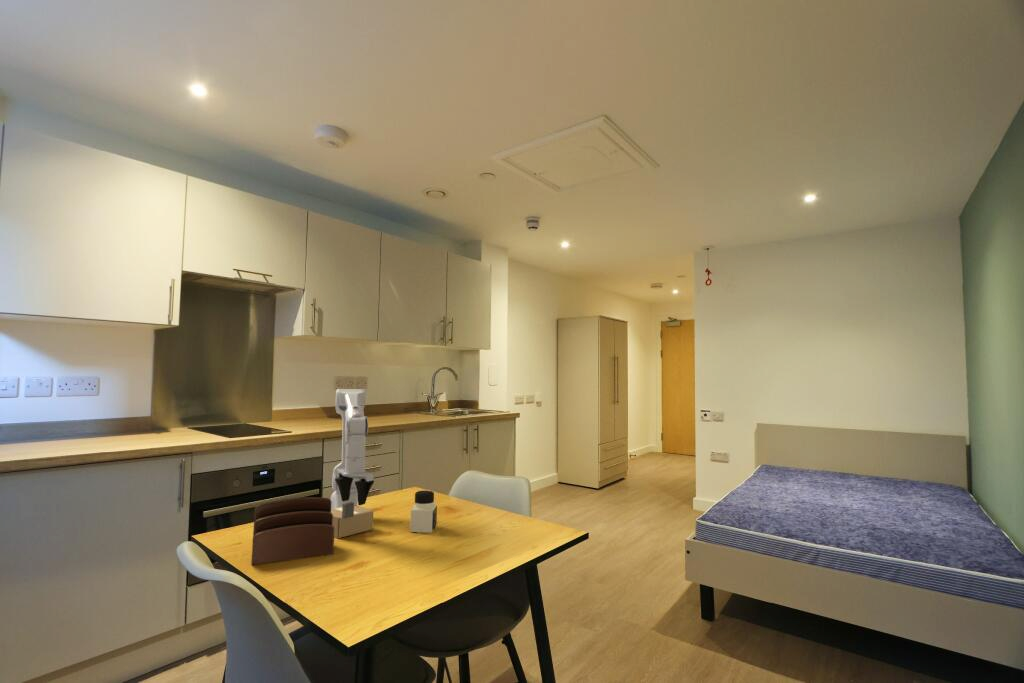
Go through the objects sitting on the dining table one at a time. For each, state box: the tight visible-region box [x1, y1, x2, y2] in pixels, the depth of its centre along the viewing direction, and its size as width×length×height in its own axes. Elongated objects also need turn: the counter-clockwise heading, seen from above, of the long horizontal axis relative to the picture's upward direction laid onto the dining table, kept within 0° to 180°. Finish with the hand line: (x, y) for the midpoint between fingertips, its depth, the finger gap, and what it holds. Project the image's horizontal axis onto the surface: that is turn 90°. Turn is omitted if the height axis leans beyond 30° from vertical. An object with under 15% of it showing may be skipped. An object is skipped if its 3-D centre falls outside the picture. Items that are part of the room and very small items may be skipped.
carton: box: [331, 504, 374, 539], centre depth 154 cm, size 10×12×6 cm
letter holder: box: [250, 496, 335, 566], centre depth 133 cm, size 10×20×14 cm, turn 116°
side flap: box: [338, 502, 374, 539], centre depth 150 cm, size 2×12×10 cm, turn 141°
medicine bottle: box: [409, 489, 438, 534], centre depth 156 cm, size 7×7×12 cm
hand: (353, 502), depth 148 cm, fingers open, 7 cm apart
